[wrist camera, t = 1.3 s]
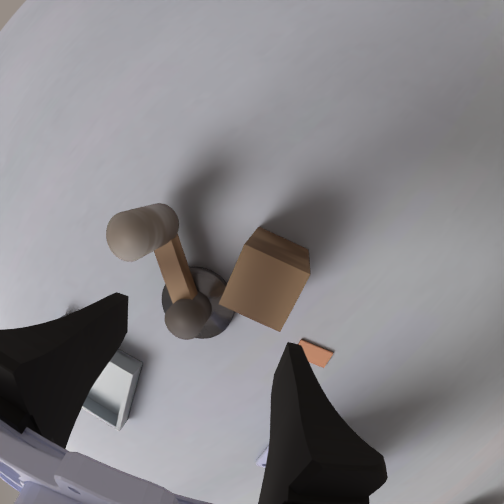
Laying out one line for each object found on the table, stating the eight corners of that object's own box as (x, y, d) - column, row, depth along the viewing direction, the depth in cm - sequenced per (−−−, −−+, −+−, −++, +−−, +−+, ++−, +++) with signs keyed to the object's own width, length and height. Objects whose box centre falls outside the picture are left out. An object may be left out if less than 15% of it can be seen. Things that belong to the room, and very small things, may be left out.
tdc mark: (333, 352, 25) (333, 353, 25) (323, 366, 25) (323, 367, 25) (301, 339, 25) (301, 340, 25) (292, 353, 25) (292, 355, 25)
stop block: (308, 249, 23) (310, 274, 17) (285, 295, 24) (279, 331, 18) (258, 226, 23) (244, 243, 17) (238, 273, 24) (218, 304, 19)
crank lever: (217, 319, 24) (195, 358, 19) (184, 325, 25) (155, 363, 19) (176, 196, 23) (139, 205, 17) (143, 209, 23) (100, 220, 18)
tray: (142, 362, 28) (132, 375, 26) (127, 419, 31) (119, 431, 29) (64, 314, 28) (52, 323, 26) (60, 376, 31) (50, 385, 29)
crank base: (246, 287, 24) (244, 290, 24) (219, 345, 26) (217, 349, 25) (177, 254, 25) (174, 256, 24) (157, 314, 26) (154, 318, 26)
